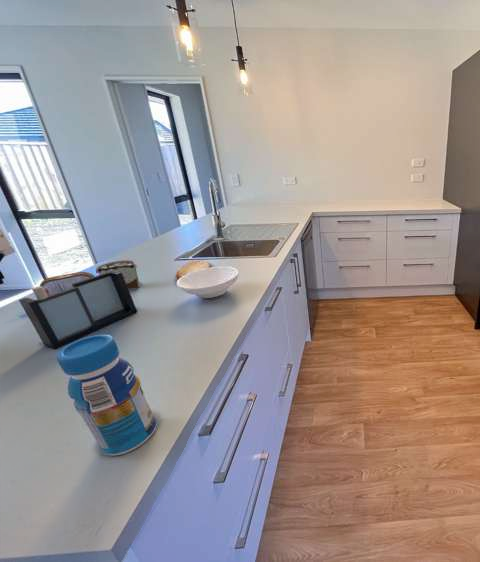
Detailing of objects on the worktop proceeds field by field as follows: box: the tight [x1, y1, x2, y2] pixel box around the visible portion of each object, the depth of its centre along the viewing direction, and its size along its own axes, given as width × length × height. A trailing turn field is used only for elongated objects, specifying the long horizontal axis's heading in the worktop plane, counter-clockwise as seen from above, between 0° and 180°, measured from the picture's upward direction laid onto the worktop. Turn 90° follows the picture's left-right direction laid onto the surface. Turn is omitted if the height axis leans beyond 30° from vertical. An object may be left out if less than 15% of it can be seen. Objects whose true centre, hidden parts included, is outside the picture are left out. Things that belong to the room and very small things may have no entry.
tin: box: [39, 271, 96, 296], centre depth 107 cm, size 15×3×8 cm, turn 130°
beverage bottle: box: [56, 334, 158, 456], centre depth 50 cm, size 8×8×20 cm
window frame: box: [18, 270, 138, 350], centre depth 86 cm, size 21×5×14 cm, turn 158°
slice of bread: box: [175, 260, 212, 281], centre depth 126 cm, size 18×18×4 cm
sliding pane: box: [31, 285, 95, 339], centre depth 81 cm, size 9×2×15 cm, turn 158°
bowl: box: [176, 266, 239, 299], centre depth 107 cm, size 20×20×7 cm
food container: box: [95, 259, 141, 291], centre depth 113 cm, size 12×6×10 cm, turn 111°
